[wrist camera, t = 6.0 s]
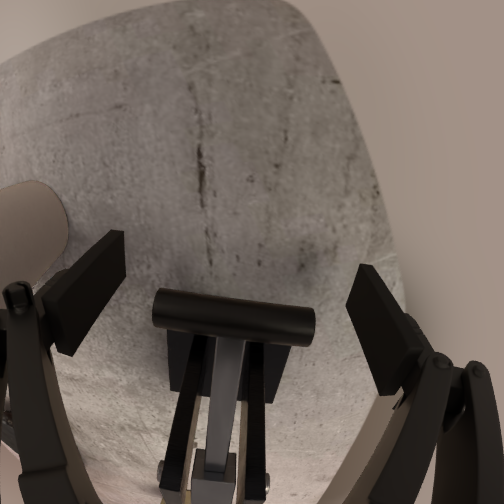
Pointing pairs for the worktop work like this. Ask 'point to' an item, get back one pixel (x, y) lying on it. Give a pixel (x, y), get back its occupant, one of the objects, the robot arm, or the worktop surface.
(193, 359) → the lever bracket
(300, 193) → the worktop surface
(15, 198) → the coffee cup
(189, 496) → the flower pot
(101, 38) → the worktop surface
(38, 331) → the robot arm
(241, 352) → the press lever
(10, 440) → the board
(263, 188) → the worktop surface
